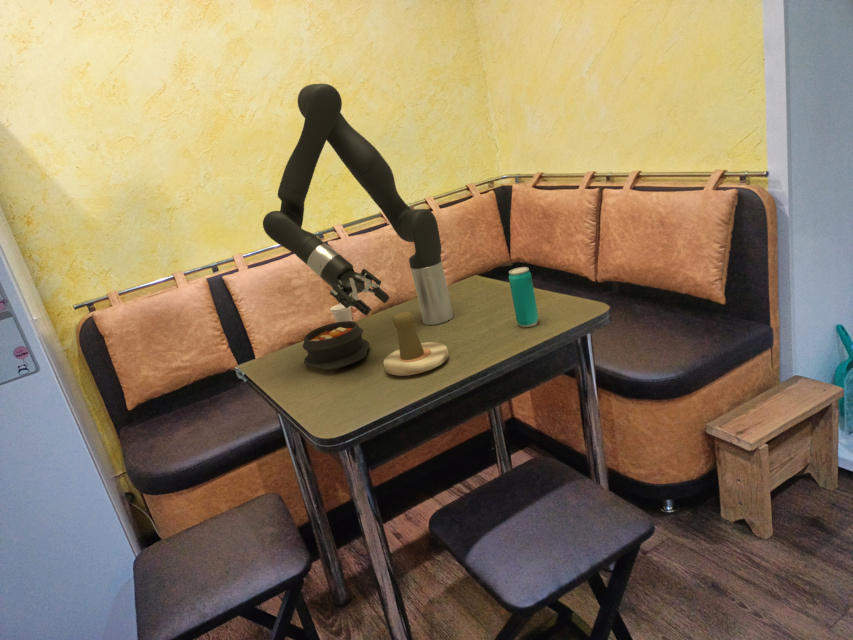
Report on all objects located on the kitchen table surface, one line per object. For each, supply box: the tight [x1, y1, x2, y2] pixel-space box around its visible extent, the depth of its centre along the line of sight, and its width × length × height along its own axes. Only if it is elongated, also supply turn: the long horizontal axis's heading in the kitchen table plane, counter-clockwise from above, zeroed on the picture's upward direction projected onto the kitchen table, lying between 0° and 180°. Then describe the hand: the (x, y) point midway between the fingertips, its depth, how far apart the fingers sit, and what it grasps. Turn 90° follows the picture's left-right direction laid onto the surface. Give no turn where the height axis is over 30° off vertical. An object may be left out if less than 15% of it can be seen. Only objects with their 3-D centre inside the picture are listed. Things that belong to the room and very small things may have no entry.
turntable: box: [383, 341, 449, 376], centre depth 148 cm, size 16×16×3 cm
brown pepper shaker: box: [392, 311, 424, 360], centre depth 146 cm, size 6×6×11 cm
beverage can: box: [508, 266, 539, 329], centre depth 155 cm, size 6×6×15 cm
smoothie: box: [330, 301, 353, 323], centre depth 181 cm, size 6×6×14 cm
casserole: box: [302, 320, 371, 371], centre depth 164 cm, size 25×19×8 cm
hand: (378, 306), depth 147 cm, fingers open, 8 cm apart
